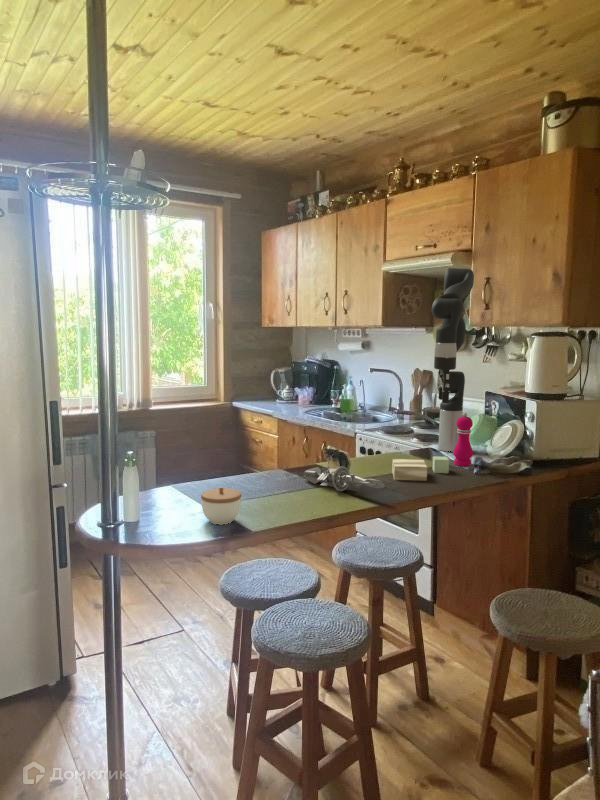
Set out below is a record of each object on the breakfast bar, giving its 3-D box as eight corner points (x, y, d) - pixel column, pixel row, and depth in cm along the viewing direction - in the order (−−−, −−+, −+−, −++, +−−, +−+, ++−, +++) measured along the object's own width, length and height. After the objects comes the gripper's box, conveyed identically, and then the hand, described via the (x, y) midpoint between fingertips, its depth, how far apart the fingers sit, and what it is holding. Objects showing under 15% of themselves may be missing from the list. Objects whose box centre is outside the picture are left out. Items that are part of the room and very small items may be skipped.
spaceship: (373, 480, 175) (388, 466, 179) (292, 470, 200) (308, 457, 205) (381, 503, 177) (396, 488, 182) (300, 490, 203) (315, 477, 208)
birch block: (392, 472, 217) (392, 458, 216) (422, 473, 216) (423, 459, 215) (394, 480, 206) (394, 466, 205) (426, 481, 205) (427, 467, 204)
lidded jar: (200, 528, 156) (199, 493, 155) (202, 515, 167) (202, 482, 166) (241, 527, 157) (241, 492, 156) (241, 514, 168) (241, 481, 167)
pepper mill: (474, 466, 225) (477, 413, 222) (455, 466, 225) (457, 413, 222) (469, 462, 232) (472, 411, 229) (450, 461, 232) (453, 410, 229)
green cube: (432, 469, 220) (433, 456, 219) (446, 470, 220) (446, 456, 219) (434, 473, 215) (434, 459, 215) (448, 473, 215) (449, 459, 214)
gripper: (432, 354, 219) (430, 398, 221) (437, 356, 205) (435, 403, 207) (452, 354, 219) (450, 398, 221) (459, 357, 205) (457, 404, 207)
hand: (443, 401), depth 214 cm, fingers open, 8 cm apart
